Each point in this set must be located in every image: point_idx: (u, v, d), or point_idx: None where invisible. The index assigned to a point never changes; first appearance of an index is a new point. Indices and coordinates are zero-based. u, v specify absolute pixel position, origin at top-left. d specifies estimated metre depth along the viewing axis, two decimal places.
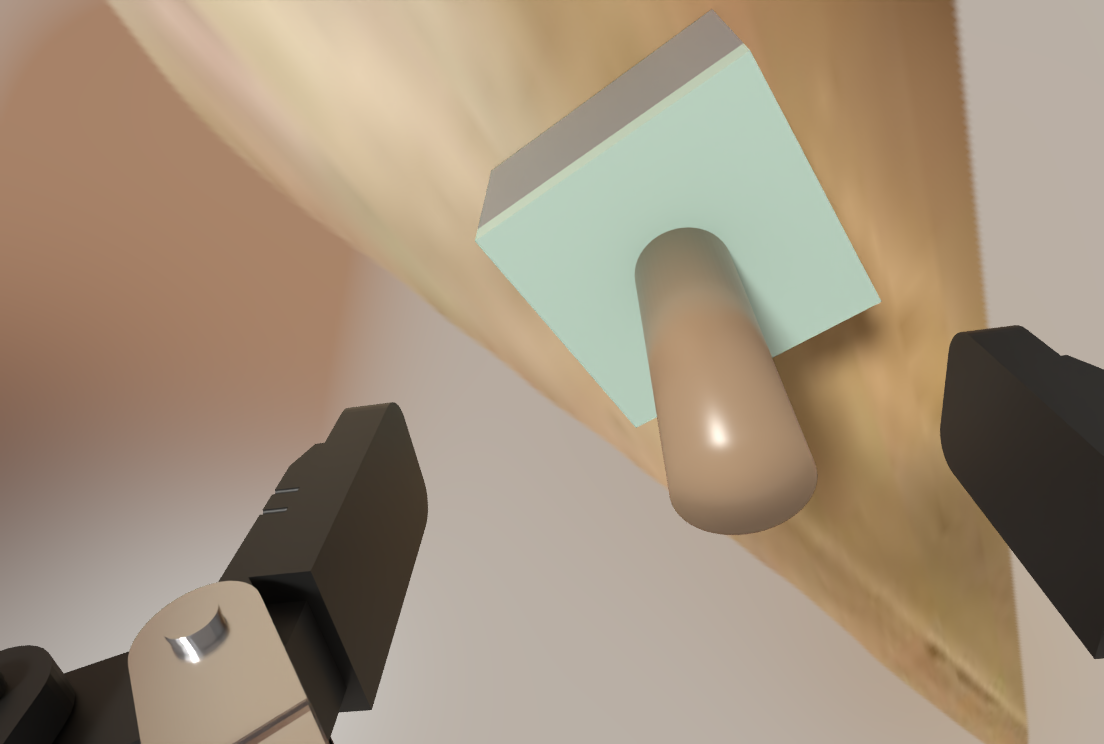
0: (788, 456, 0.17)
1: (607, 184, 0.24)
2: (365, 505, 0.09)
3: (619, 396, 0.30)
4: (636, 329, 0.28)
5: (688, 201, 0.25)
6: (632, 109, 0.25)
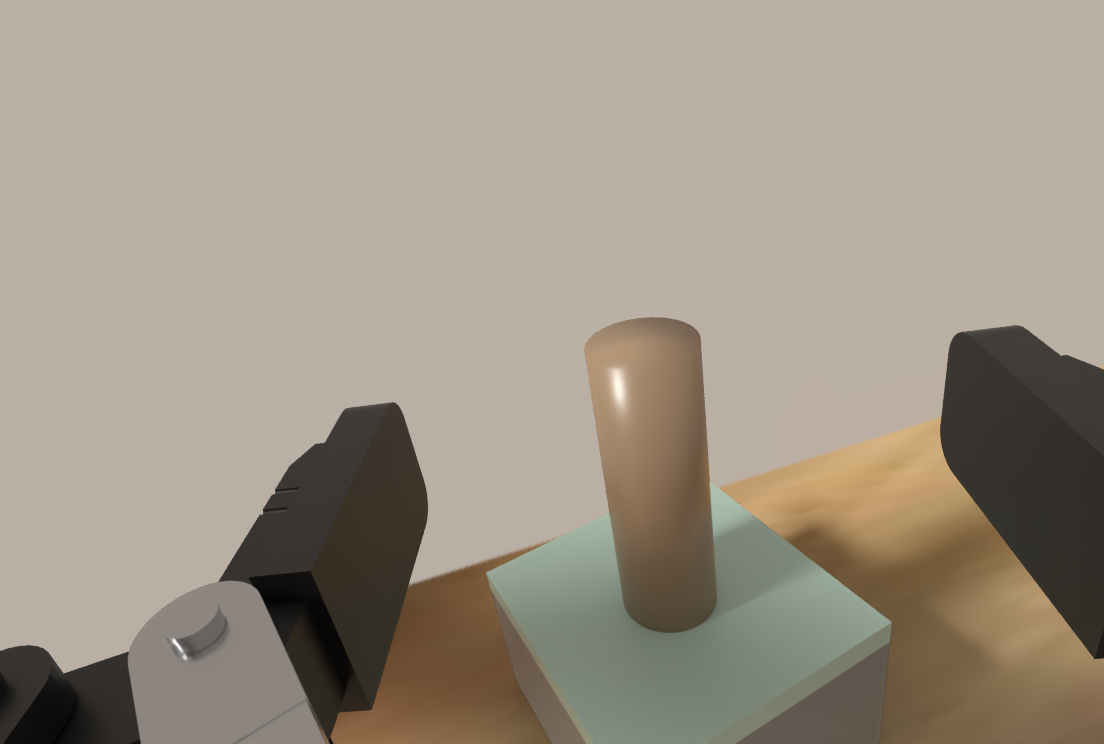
0: (611, 331, 0.23)
1: (574, 658, 0.25)
2: (365, 505, 0.09)
3: (843, 640, 0.24)
4: (741, 628, 0.25)
5: (598, 596, 0.28)
6: (536, 675, 0.28)
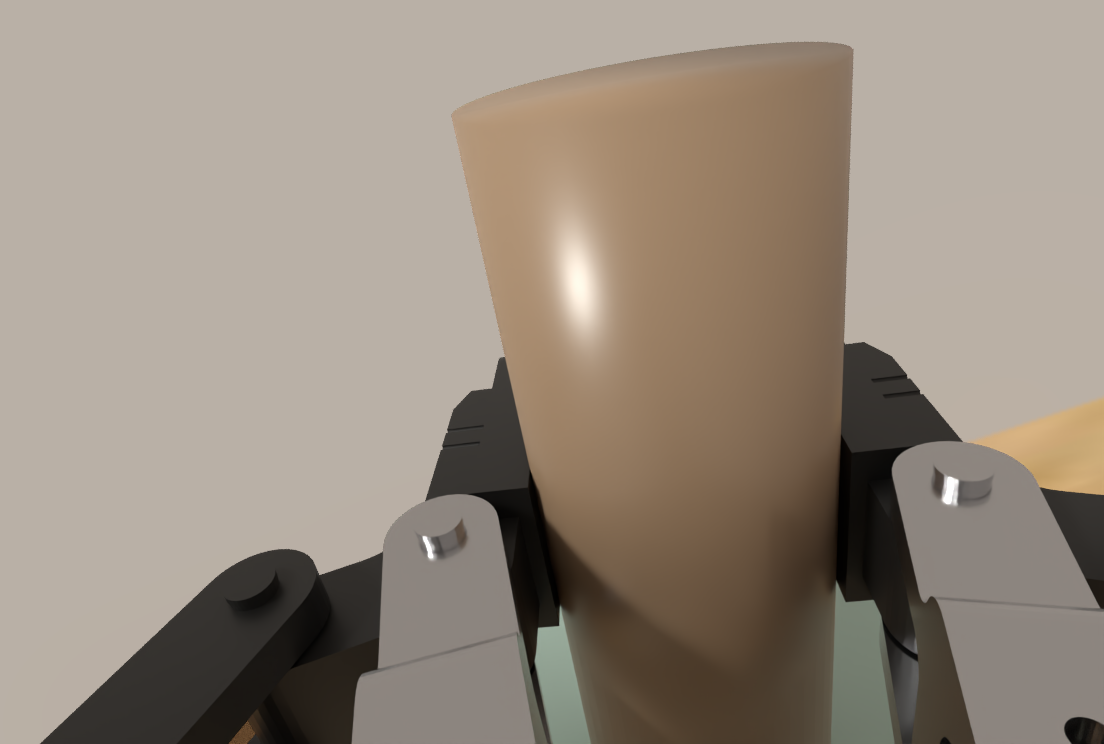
0: (548, 82, 0.08)
1: None
2: None
3: None
4: None
5: None
6: None
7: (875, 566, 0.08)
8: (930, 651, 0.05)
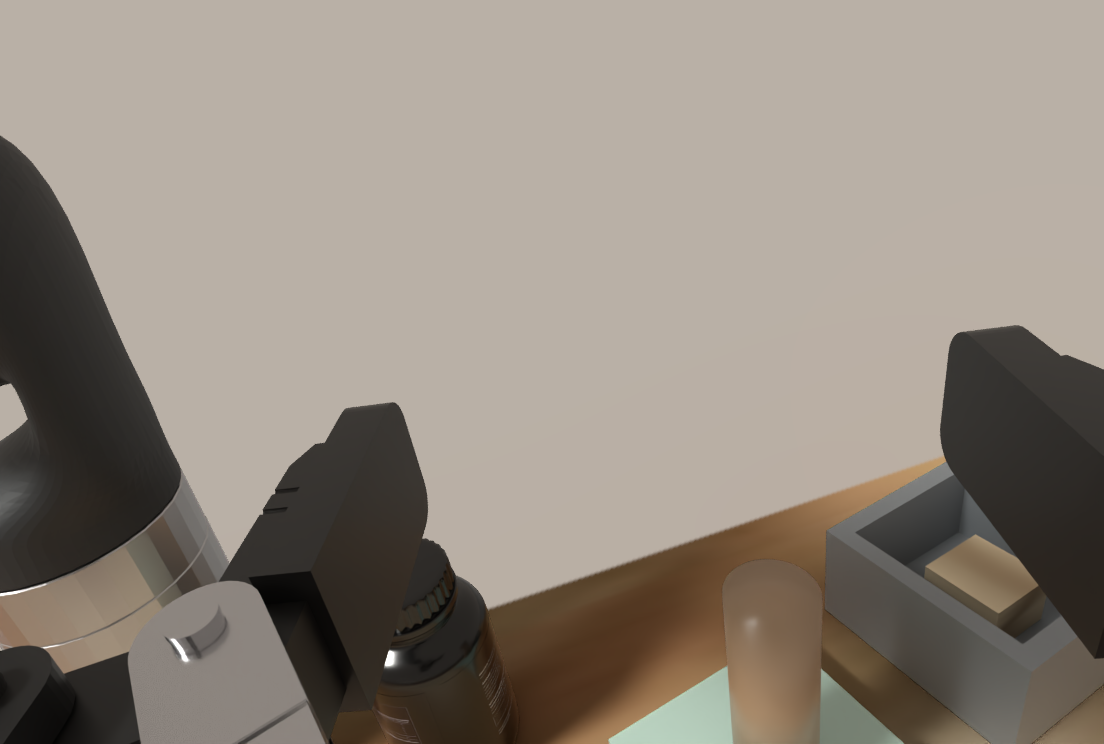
0: (740, 575, 0.27)
1: None
2: (365, 505, 0.09)
3: None
4: None
5: None
6: (888, 591, 0.36)
7: None
8: None
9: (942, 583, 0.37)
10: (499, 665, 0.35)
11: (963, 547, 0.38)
